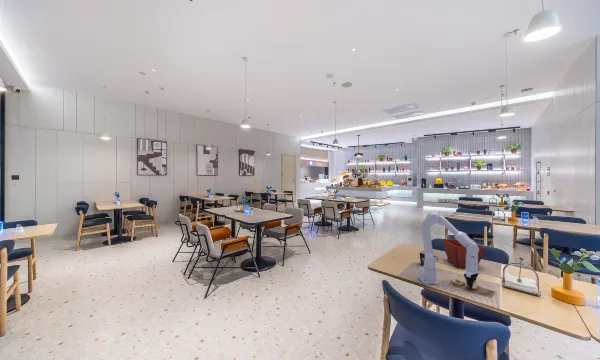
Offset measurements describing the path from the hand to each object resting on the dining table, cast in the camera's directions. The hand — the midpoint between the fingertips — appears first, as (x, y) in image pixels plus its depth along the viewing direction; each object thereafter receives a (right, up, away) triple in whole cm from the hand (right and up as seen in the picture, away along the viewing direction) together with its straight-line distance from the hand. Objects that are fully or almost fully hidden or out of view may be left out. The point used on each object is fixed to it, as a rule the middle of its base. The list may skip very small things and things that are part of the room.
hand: (471, 285), depth 138 cm
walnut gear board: (0, -3, 0) cm, 3 cm away
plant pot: (+20, -2, +37) cm, 42 cm away
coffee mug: (-7, -2, +35) cm, 35 cm away
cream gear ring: (0, 0, 0) cm, 0 cm away
